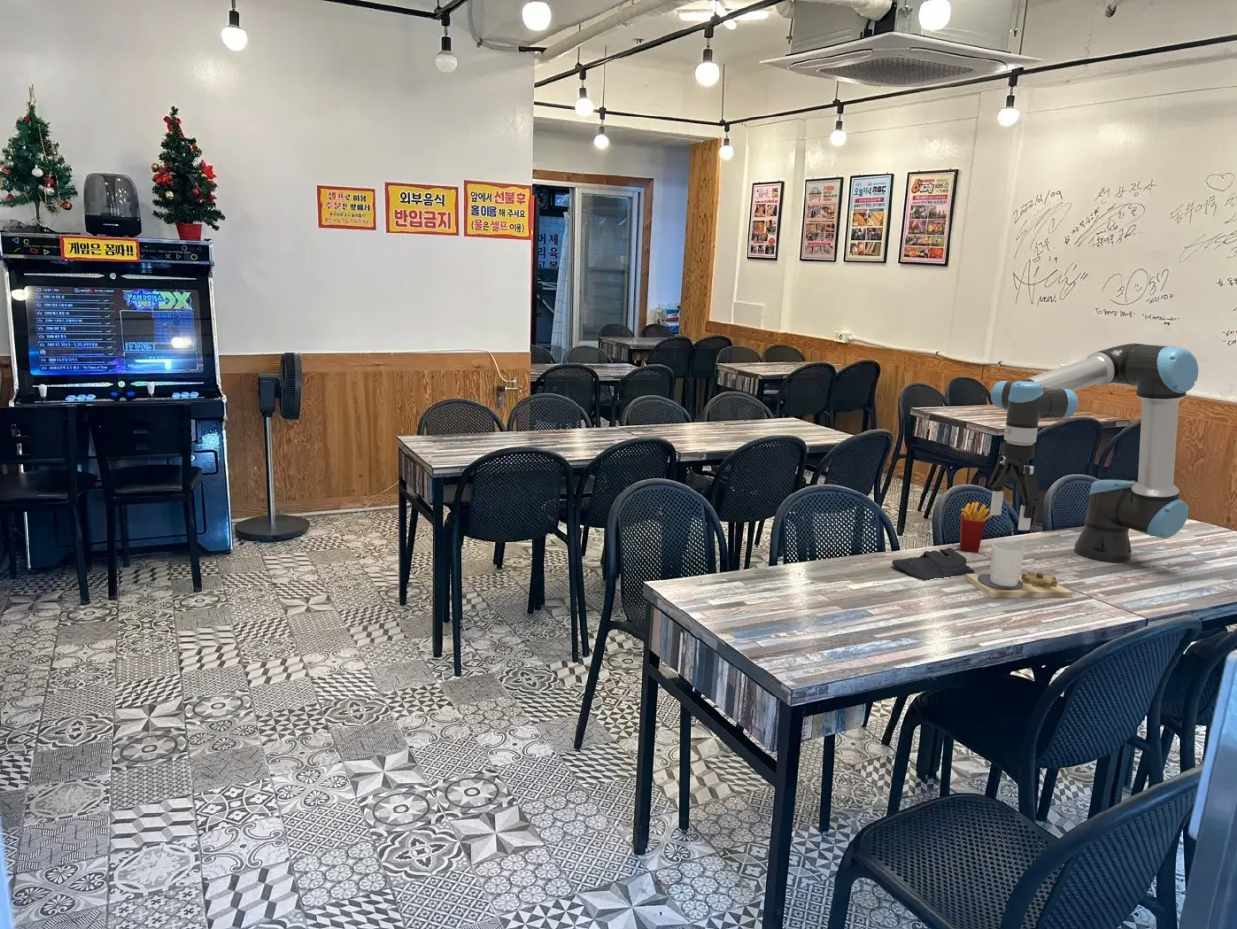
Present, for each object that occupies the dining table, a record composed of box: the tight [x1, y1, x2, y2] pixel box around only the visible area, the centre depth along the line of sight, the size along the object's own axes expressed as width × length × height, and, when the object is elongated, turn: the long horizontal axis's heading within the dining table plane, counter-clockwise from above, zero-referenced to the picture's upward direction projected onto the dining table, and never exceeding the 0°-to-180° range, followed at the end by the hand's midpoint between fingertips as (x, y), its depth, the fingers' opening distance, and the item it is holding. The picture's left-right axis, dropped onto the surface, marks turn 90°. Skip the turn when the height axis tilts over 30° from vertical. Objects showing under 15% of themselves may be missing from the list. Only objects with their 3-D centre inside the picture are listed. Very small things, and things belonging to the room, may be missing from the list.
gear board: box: [964, 571, 1073, 599], centre depth 232 cm, size 22×14×4 cm, turn 96°
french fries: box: [959, 501, 993, 554], centre depth 263 cm, size 9×8×15 cm
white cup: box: [989, 541, 1026, 587], centre depth 229 cm, size 8×8×10 cm
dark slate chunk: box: [891, 547, 976, 582], centre depth 245 cm, size 15×22×5 cm
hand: (1009, 522), depth 228 cm, fingers open, 13 cm apart
